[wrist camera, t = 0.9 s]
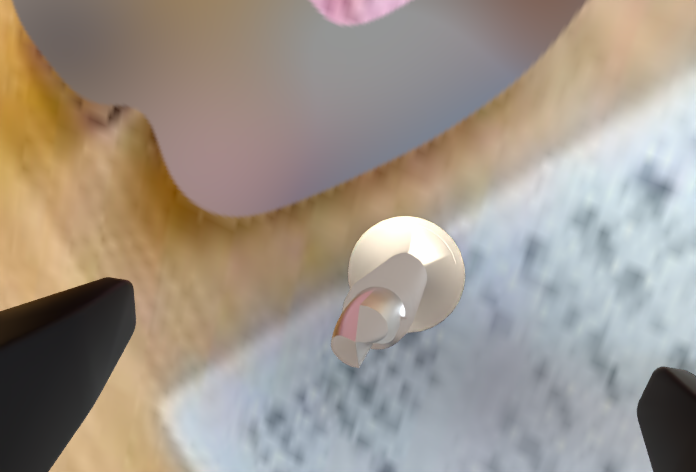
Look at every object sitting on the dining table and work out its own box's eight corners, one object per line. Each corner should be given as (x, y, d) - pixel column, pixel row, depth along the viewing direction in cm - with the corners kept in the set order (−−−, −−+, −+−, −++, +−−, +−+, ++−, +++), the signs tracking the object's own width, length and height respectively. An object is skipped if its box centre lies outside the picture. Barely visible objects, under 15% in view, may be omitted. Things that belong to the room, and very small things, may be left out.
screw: (356, 318, 23) (357, 215, 23) (462, 324, 22) (464, 216, 22) (240, 450, 10) (240, 217, 10) (481, 477, 9) (486, 219, 9)
